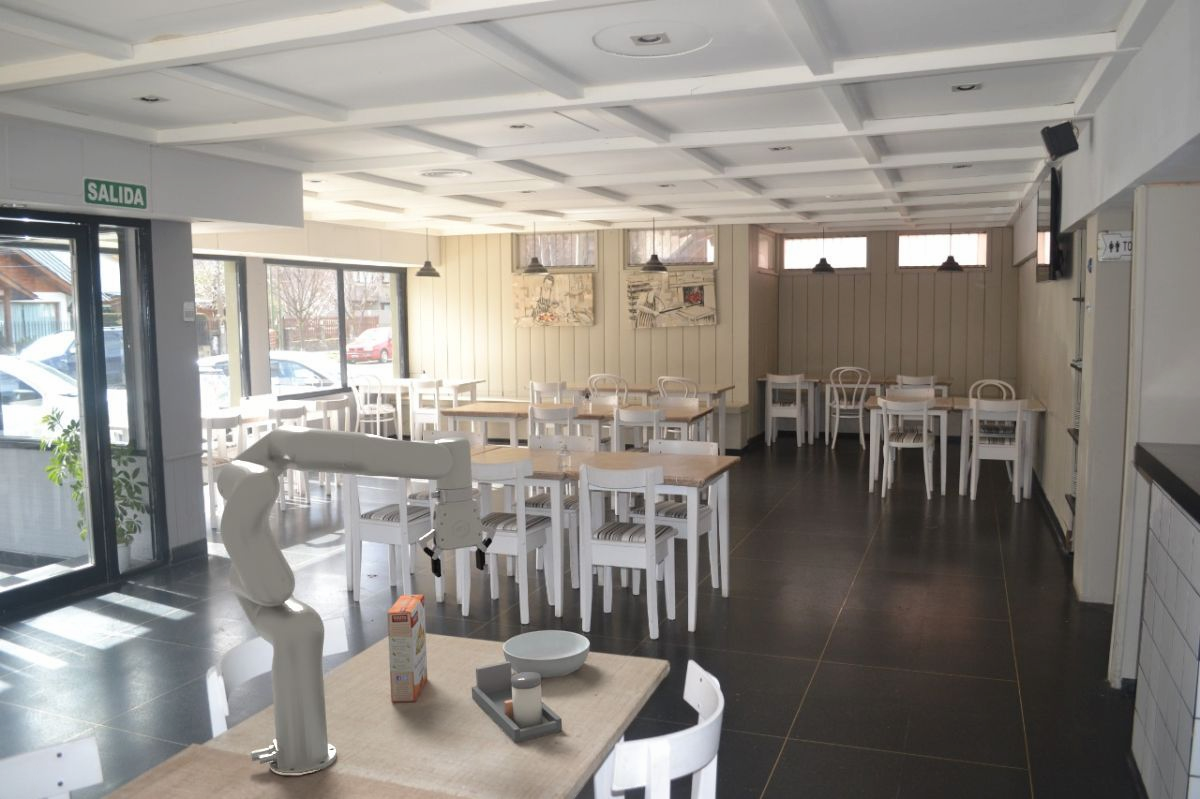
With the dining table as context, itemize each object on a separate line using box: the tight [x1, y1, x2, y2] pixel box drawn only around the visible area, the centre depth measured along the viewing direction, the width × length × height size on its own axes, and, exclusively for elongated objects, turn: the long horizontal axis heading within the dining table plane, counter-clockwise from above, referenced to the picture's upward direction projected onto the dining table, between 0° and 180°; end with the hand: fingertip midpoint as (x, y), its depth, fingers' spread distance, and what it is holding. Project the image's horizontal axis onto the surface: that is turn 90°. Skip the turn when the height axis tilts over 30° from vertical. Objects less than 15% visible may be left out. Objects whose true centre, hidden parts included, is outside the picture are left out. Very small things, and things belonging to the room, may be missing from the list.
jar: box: [511, 672, 543, 729], centre depth 195 cm, size 6×6×10 cm
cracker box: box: [386, 594, 428, 703], centre depth 216 cm, size 14×6×21 cm, turn 179°
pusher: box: [504, 700, 513, 719], centre depth 200 cm, size 7×5×4 cm
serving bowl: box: [502, 629, 591, 679], centre depth 226 cm, size 21×21×7 cm
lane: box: [471, 660, 563, 743], centre depth 202 cm, size 10×26×7 cm, turn 27°
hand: (459, 572), depth 204 cm, fingers open, 9 cm apart
